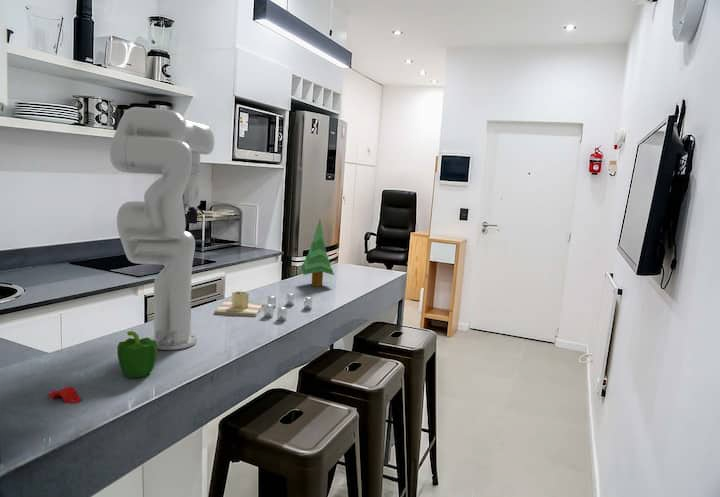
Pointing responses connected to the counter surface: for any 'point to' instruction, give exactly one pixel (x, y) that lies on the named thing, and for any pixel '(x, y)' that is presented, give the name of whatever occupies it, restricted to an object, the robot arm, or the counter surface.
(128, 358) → the bell pepper
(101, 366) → the counter surface
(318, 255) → the decorative tree
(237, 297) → the brass nut
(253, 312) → the pad
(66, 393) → the red curved piece
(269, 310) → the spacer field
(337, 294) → the counter surface
